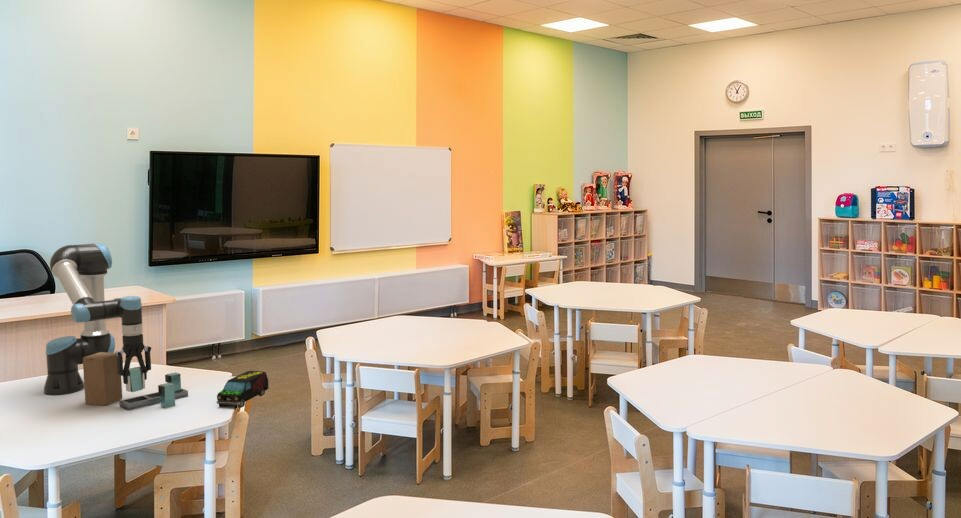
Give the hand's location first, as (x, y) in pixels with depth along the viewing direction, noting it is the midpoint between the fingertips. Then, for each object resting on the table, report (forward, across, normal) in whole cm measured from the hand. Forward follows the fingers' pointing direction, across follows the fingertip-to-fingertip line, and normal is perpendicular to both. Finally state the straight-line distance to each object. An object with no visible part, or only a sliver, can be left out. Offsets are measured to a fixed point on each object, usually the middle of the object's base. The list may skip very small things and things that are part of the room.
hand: (135, 389), depth 283 cm
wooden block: (+7, -6, +16) cm, 19 cm away
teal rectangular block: (0, 0, 0) cm, 0 cm away
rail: (+7, +8, 0) cm, 10 cm away
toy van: (+7, +34, -26) cm, 43 cm away
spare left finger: (+7, +8, -10) cm, 15 cm away
